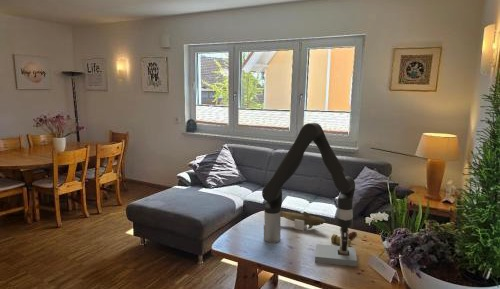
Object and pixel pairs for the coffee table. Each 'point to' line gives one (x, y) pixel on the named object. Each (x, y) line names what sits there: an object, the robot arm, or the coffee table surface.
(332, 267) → the coffee table surface
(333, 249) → the board
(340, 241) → the peg
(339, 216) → the robot arm
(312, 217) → the wood carving
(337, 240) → the gavel
